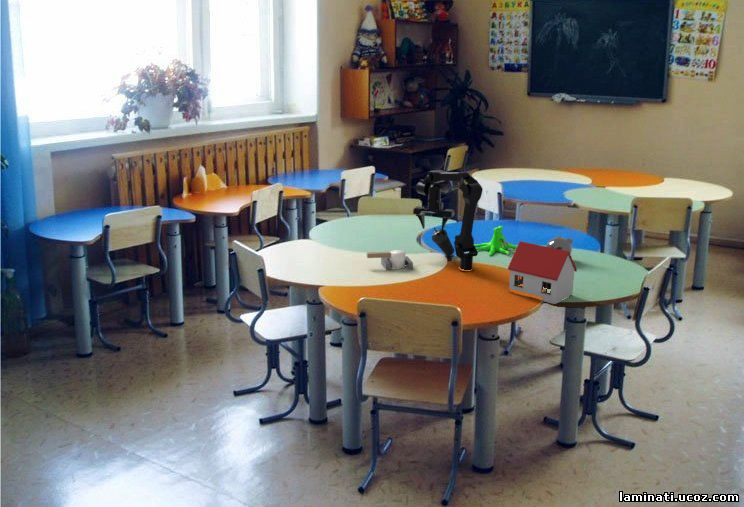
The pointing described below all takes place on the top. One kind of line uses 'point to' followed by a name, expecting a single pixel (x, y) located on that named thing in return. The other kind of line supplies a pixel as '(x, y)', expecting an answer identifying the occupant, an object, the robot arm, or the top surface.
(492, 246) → the toy octopus
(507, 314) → the top surface
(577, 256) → the top surface
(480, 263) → the top surface
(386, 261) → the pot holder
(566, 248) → the piggy bank
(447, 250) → the drinking cup
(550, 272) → the house model
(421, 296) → the top surface
